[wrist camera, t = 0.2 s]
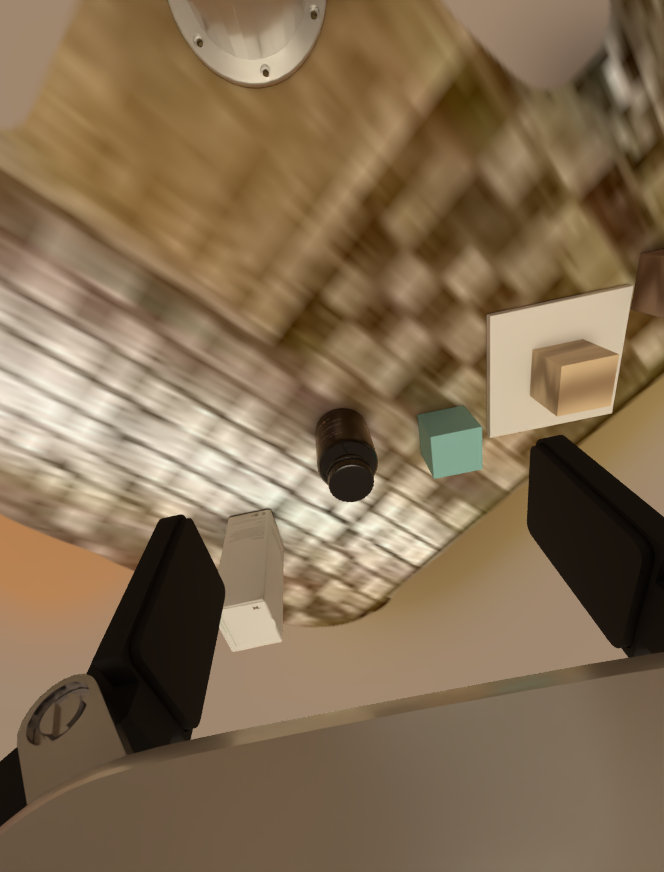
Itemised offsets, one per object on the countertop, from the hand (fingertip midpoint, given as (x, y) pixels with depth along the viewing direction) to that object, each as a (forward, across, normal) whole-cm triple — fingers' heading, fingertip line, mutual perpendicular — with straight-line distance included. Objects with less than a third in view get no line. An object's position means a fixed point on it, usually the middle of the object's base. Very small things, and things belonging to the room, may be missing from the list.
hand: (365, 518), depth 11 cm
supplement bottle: (+37, +1, +17) cm, 41 cm away
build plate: (+37, -26, +14) cm, 47 cm away
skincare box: (+37, +16, +31) cm, 51 cm away
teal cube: (+37, -12, +20) cm, 44 cm away
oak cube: (+36, -26, +14) cm, 47 cm away
